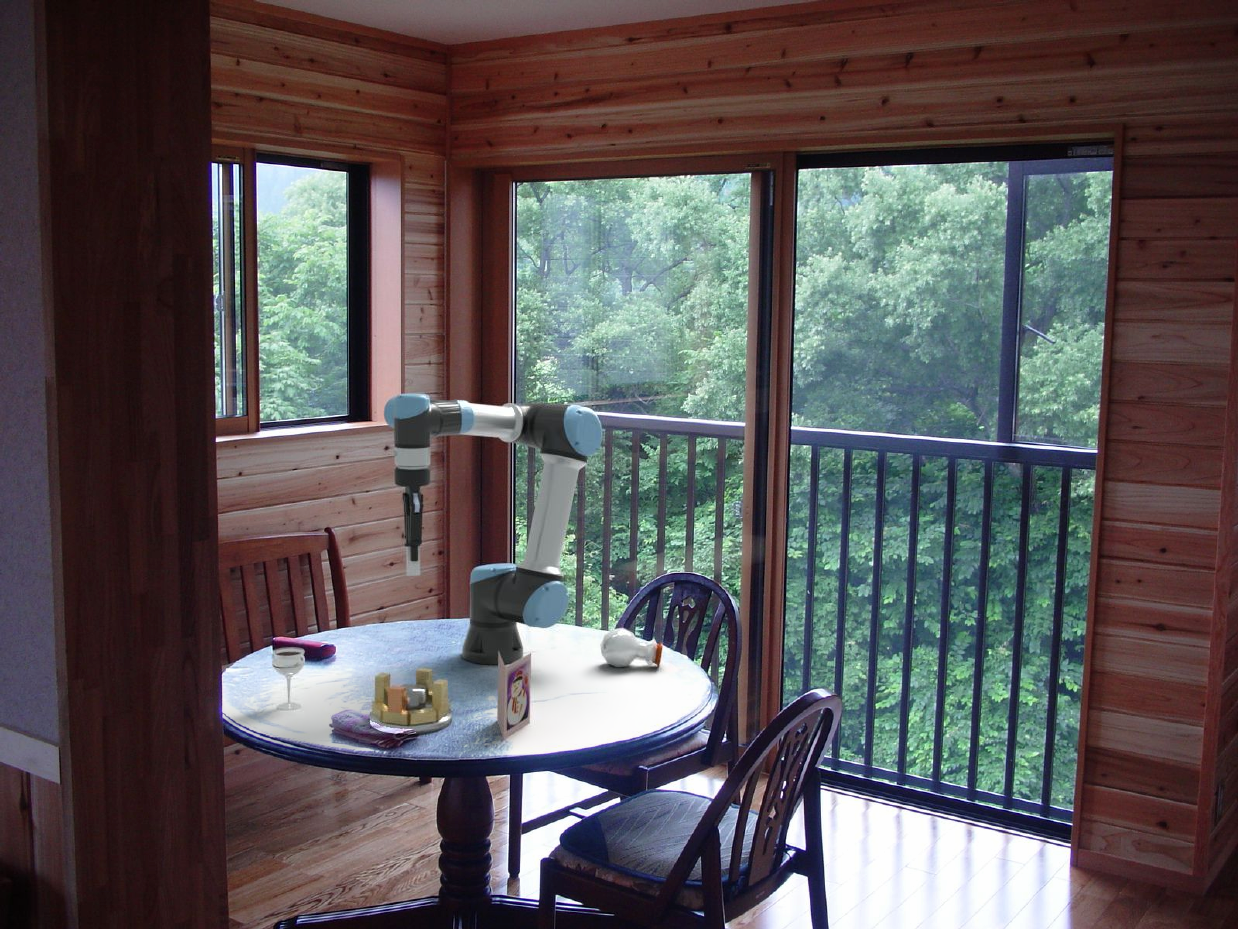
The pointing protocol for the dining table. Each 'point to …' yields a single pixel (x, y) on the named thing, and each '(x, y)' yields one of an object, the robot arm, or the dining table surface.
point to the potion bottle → (629, 649)
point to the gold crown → (393, 700)
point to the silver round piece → (417, 702)
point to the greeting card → (513, 695)
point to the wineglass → (288, 669)
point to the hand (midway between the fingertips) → (413, 574)
